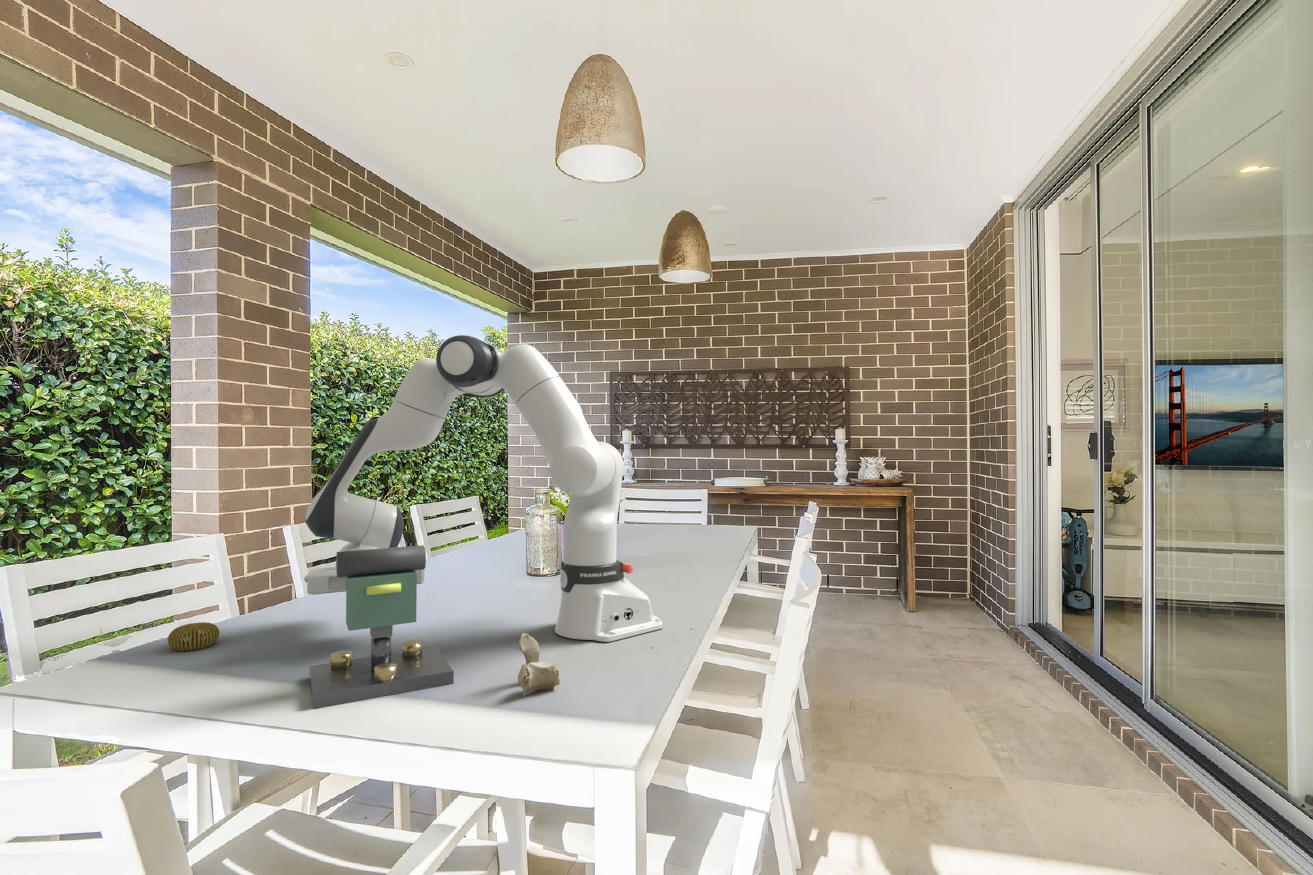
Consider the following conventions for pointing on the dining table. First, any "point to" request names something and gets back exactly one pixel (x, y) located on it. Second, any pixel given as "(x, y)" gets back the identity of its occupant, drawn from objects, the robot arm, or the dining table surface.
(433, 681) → the plate
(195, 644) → the sculpture
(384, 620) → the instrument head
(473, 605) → the dining table surface
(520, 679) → the bone
